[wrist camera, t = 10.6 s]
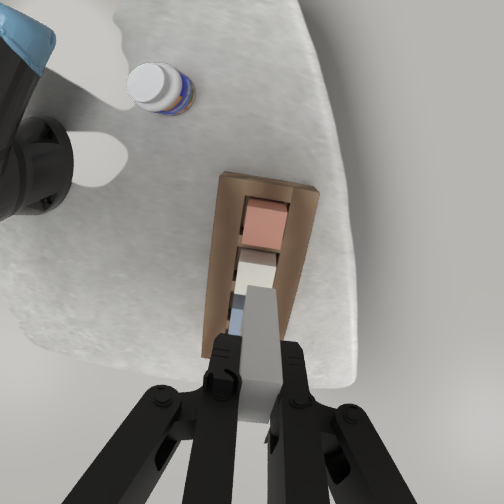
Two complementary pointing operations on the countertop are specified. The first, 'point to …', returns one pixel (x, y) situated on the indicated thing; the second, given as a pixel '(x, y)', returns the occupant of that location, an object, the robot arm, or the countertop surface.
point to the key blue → (236, 314)
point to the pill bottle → (160, 88)
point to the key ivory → (255, 269)
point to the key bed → (255, 247)
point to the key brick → (264, 223)
